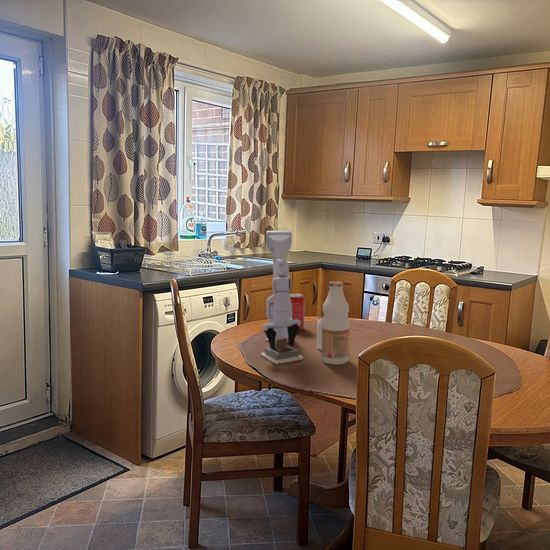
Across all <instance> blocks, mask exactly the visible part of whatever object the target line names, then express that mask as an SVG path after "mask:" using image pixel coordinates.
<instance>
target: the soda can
mask: <svg viewBox="0 0 550 550" xmlns="http://www.w3.org/2000/svg"><path fill="white" fill-rule="evenodd" d="M290 300H291V310H292V313H291V317H290V318H291V319H292V320H295V319H298V320H300V326H298V327H299V331H301V330H303V329H304V328H305V308H306V307H305V304H306V303H305V302H306V301H305V297H304V294H301V293H290Z"/></svg>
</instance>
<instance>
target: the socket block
mask: <svg viewBox="0 0 550 550" xmlns="http://www.w3.org/2000/svg"><path fill="white" fill-rule="evenodd" d="M261 355H262V356H263V357H262V356H261ZM260 356H261V357H262V358H264V357H265V359H266V358H267V359H266V360H268V361H269V362H271V361H272V362H271V363H273V362H274V363H273V364H275V363H276V364H275V365H279V363H280V364H284V363H289V362H296V361H300V360H304V356H303V355H301V354H300V350H298V349H297V348H294V347H293V346H289V344H287V351H286V352H281V353H278V352H276V345H275V349H274V350H273V349H271V348H270V346H269V347H264V352H261V353H260Z"/></svg>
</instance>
